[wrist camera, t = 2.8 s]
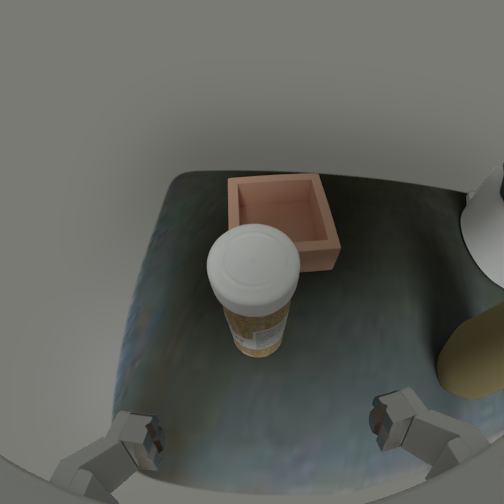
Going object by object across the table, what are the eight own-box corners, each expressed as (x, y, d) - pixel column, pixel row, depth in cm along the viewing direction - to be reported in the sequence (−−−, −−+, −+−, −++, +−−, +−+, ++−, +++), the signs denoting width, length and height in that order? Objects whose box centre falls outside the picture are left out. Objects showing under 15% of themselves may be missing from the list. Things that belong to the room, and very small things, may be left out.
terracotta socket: (313, 197, 33) (318, 173, 30) (332, 269, 28) (341, 248, 24) (231, 202, 33) (227, 178, 30) (233, 277, 28) (229, 256, 24)
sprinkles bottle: (225, 324, 25) (191, 241, 14) (269, 303, 26) (272, 208, 15) (246, 367, 23) (228, 320, 12) (292, 344, 24) (320, 276, 12)
